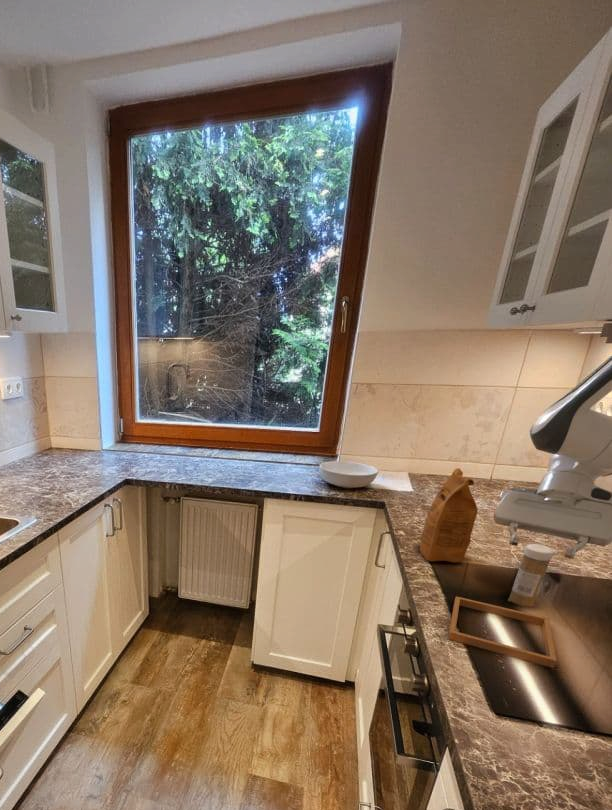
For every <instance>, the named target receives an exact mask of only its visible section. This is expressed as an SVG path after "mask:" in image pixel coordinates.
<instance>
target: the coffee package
mask: <svg viewBox="0 0 612 810" xmlns="http://www.w3.org/2000/svg"><path fill="white" fill-rule="evenodd" d="M463 473H464V472H463V471H462V470H461V468H459V467H458V468H455V469H454V470H453V472H452V473H451V475H450V476H449V477H448V478H447V479H446V481H445V482H444V484H443V485H442V486H441V487H440V488H439V491H438V492H437V494H436V495H435V497H434V499H433V502H432V504H431V506H430V508H429V510H428V512H427V515H426V518H425V521H424V525H423V531H422V534H421V538H420V542H419V551H420V554H421V556H422V557H423V558H425V560H426V561H428V562H448V563H463V562H464V559H465V556H466V553H467V551H468V548H469V546H470V544H471V541H472V540H471V537H472V534H473V530H474V525H475V521H476V519H477V515H478V512H479V511H478V507H477V504H476V501H475V499H474V497H473V494H472V492H471V489H470V486H474V485H475V481H474V480H473V479H471V478H469V477H465V476H463Z"/></svg>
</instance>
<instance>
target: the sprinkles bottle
mask: <svg viewBox="0 0 612 810" xmlns="http://www.w3.org/2000/svg"><path fill="white" fill-rule="evenodd" d="M554 553H555V550H554V549H553V548H551V547H550V546H547V545H543V544H539V543H530V544H527V545H526V546H525V549H524V552H523V557H522V561H521V563H520V566H519V568H518V571H517V574H516V577H515V579H514V582H513V585H512V587H511V592H510V595H509V597H508V599H507V601H508V602H511V603H512V604H516V605H518V606H521V607H534V605H535V602H536V601H537V600H536V599H537V597H538V595H539V593H540V590H541V588H542V585H543V581H544V578H545V576H546V573H547V570H548V567H549V564H550V562H551V561H552V559H553V557H554Z"/></svg>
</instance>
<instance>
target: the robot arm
mask: <svg viewBox="0 0 612 810" xmlns="http://www.w3.org/2000/svg"><path fill="white" fill-rule="evenodd" d="M611 392H612V355H610V356H609V357H608V358H607V359H606V360H605V361H603V363H601V364H600V365H599V366H598V367H597V368H596V369H594V370H593V371H592V372H591V373H590V374H588V376H586V377H585V378H584V379H583V380H581V382H580V383H578V384H577V385H575V387H574V388H572V389H571V390H570V391H569V392H567V393H566V394H565V395H564V396H563V397H561V398H560V399H558V400H557V401H555V402H554V403H553V404H551V405H550V406H549V407H547V408H546V409H545V410H544V411H542V413H541V414H540V415H538V417H537V418H536V419H535V420H534V422H533V423H532V425H531V427H530V429H529V435H530V439H531V442H532V444H533V446H534V448H535V449H536V450H538V451H541V452H544V453H548V454H551V456H550V458H549V461H548V464H547V471H546V472H545V473H544V474H543V476H542V478H541V480H540V483H539V486H538V488H537V489H533V488H532V489H530V488H522V487H519V486H512V487H507V488H504V489H503V490H502V491H501V494H500V496H499V503H498V505H497V507H496V508H495V509H494V513H493V518H492V520H493V521H494V523H495V524H496V525H500V526H504V527H508V533H509V536H510V540H509V543H508V545H509V546H515V547H518V545H519V543H520V540H521V535H517V533H516V532H518V529H519V530H524V531H529V532H533V533H538V534H541V535H548V536H552V537H557V538H562V539H566V540H571V541H575V542H576V545H575V546H567V549H566V550H565V553H564V556H563V557H564V558H567V559H570V560H574V558H575V555H576V553H578V552H579V551H581V550H583V549H584V548H585V547H586V545H587V544H590V545H595V546H600V547H607V546H609V545H611V544H612V491H610V490H608V489H604V488H603V487H600V486H598V485H596V484H595V482H596V480H597V479H598V478H600V477H601V478H604V477H608V476H612V416H610V415H608V414H605V413H603V412H602V413H601V412H599V411H596V410H594V409H591V408H593V407H594V406H595V405H596V404H597V403H598V402H600V401H601V400H602V399H603V398H606V396H607V395H608V394H610V393H611Z"/></svg>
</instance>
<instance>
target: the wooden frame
mask: <svg viewBox="0 0 612 810" xmlns="http://www.w3.org/2000/svg"><path fill="white" fill-rule="evenodd" d="M460 607H464V608H468V609H471V610H472V609H473V610H476V611H480V612H485V613H489V614H492V615H496V616H497V615H498V616H500V617H506V618H509V619H514V620H518V621H521V622H525V623H528V624H534V625H538V626H541V630H542V637H543V645H544V650H545V654H541V653H537V652H533V651H529V650H527V649H522V648H519V647H515V646H511V645H507V644H504V643H499V642H496V641H492V640H489V639H484V638H481V637H477V636H473V635H470V634H466V633H463V632H459V631H456V629H457V623H458V617H459V610H460V609H459V608H460ZM550 621H551V620H550V618H549V617H546V616H541V615H538V614H532V613H528V612H524V611H520V610H516V609H511V608H508V607H503V606H499V605H495V604H491V603H486V602H482V601H477V600H472V599H469V598H465V597H460V596H455V598H454V601H453V607H452V613H451V619H450V624H449V625H450V626H449V631H448V636H447V637H448V638H447V639H448V640H451V641H454V642H458V643H461V644H464V645H469V646H472V647H475V648H479V649H482V650H487V651H490V652H493V653H497V654H500V655H504V656H508V657H512V658H514V659H515V658H516V659H518V660H522V661H526V662H530V663H532V664H533V663H534V664H536V665H541V666H545V667H547V668H552V669H554V668H555V666H556V664H557V661H558V660H557V656H556V649H555V644H554V643H555V642H554V639H553V633H552V627H551V622H550Z"/></svg>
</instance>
